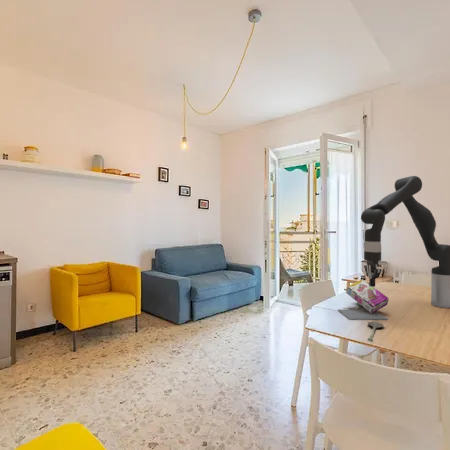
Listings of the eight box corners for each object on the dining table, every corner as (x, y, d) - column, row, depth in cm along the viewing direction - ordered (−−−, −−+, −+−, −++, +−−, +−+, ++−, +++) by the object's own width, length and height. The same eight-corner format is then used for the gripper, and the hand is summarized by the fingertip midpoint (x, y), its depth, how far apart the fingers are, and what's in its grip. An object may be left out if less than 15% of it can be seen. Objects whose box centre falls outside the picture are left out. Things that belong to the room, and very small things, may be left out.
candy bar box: (373, 307, 139) (346, 286, 152) (371, 314, 142) (345, 293, 155) (389, 297, 143) (362, 278, 156) (387, 304, 146) (360, 285, 159)
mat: (373, 310, 149) (373, 309, 149) (388, 320, 135) (388, 318, 135) (337, 310, 149) (337, 309, 149) (349, 319, 135) (349, 318, 135)
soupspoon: (385, 328, 128) (368, 326, 131) (384, 320, 128) (368, 318, 131) (379, 343, 109) (360, 340, 113) (379, 334, 110) (360, 331, 113)
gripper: (387, 252, 135) (387, 289, 135) (373, 249, 148) (373, 283, 149) (371, 252, 135) (371, 289, 135) (358, 249, 149) (358, 283, 149)
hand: (372, 286), depth 142 cm, fingers closed
